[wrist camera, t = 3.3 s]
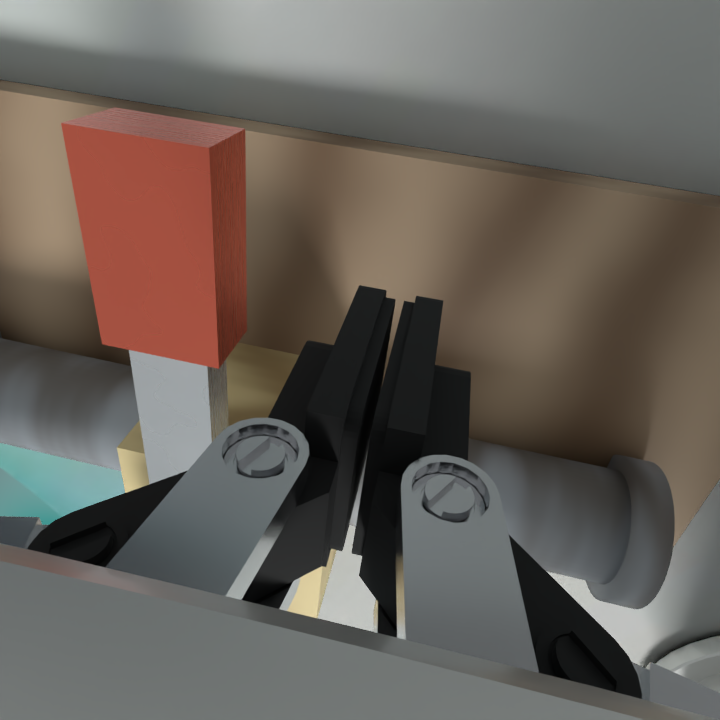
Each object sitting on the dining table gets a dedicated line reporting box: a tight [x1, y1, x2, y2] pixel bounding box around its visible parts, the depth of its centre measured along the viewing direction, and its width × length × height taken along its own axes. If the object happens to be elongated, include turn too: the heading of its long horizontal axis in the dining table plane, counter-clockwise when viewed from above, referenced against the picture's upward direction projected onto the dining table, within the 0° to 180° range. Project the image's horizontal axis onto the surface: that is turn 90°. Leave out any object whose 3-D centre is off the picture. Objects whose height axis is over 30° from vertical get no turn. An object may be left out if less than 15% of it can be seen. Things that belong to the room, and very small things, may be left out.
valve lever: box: [61, 107, 247, 484], centre depth 14 cm, size 16×3×2 cm, turn 174°
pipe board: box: [0, 80, 720, 618], centre depth 21 cm, size 36×18×10 cm, turn 84°
